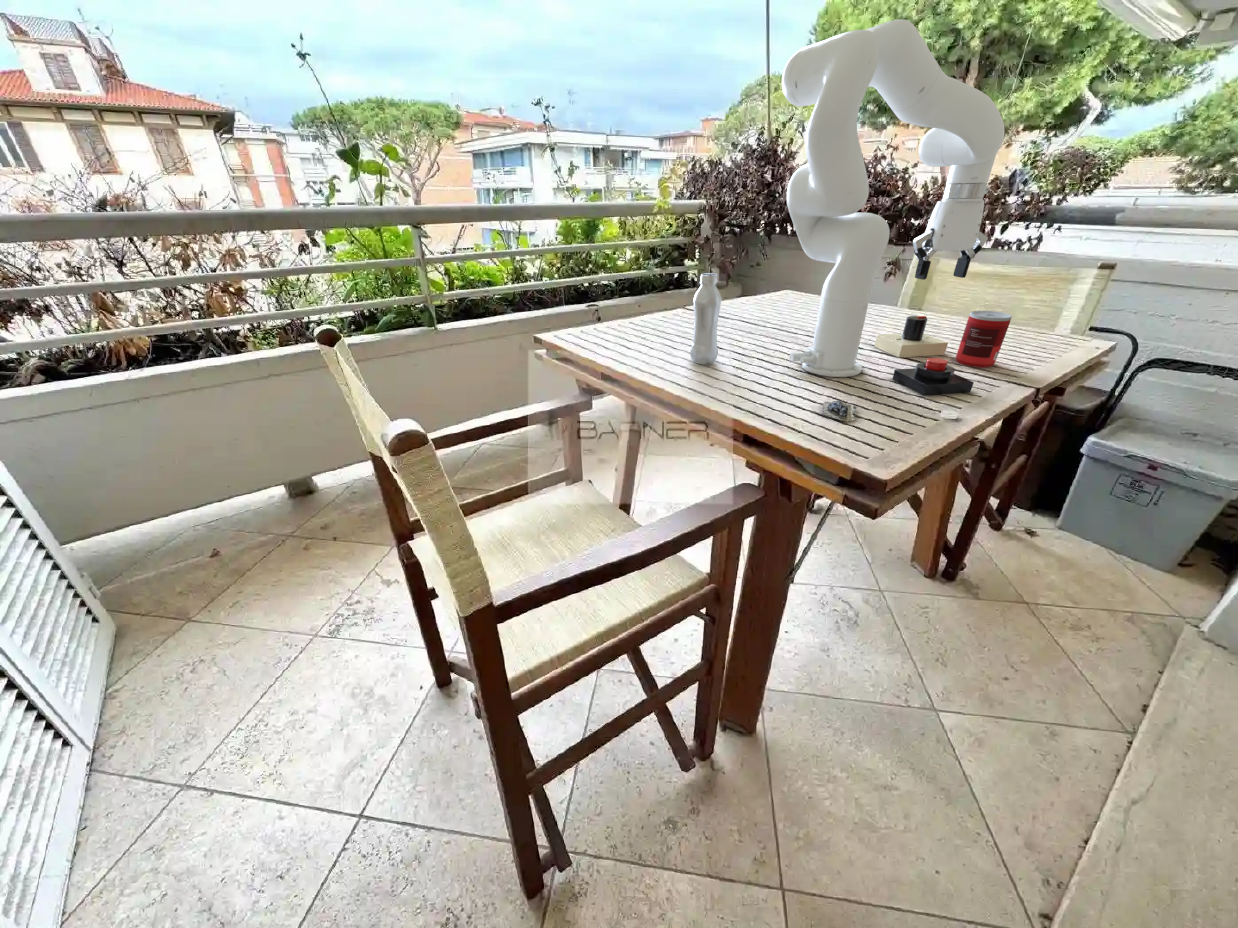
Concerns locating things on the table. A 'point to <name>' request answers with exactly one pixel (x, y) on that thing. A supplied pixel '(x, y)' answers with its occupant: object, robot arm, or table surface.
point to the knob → (914, 328)
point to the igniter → (932, 380)
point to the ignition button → (936, 364)
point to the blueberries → (839, 410)
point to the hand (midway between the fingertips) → (939, 277)
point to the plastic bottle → (706, 320)
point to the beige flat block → (910, 345)
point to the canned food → (982, 338)
